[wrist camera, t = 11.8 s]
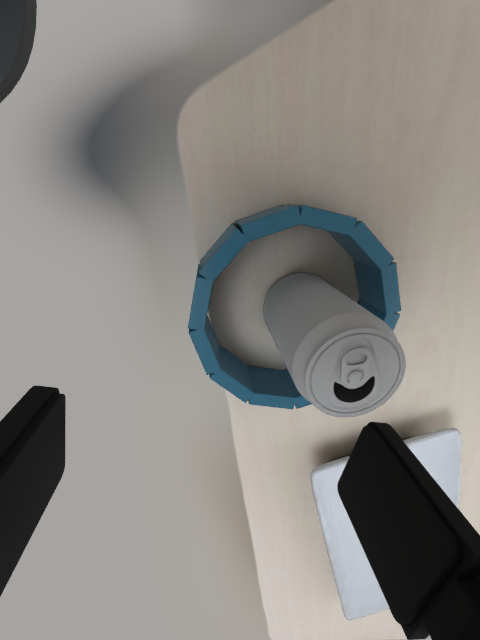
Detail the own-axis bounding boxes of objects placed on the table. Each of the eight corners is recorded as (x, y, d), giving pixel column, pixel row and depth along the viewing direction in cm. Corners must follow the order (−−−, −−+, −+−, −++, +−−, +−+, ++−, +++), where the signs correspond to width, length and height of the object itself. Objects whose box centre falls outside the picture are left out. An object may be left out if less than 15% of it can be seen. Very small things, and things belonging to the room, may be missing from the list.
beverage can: (264, 341, 28) (301, 432, 17) (258, 275, 26) (295, 332, 15) (330, 331, 28) (407, 414, 17) (329, 265, 26) (420, 313, 15)
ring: (151, 279, 25) (139, 294, 21) (323, 160, 23) (349, 151, 19) (254, 407, 31) (261, 439, 27) (398, 323, 29) (429, 344, 25)
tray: (441, 407, 33) (466, 429, 30) (441, 564, 46) (459, 591, 42) (298, 448, 34) (307, 474, 30) (336, 593, 46) (345, 623, 43)
